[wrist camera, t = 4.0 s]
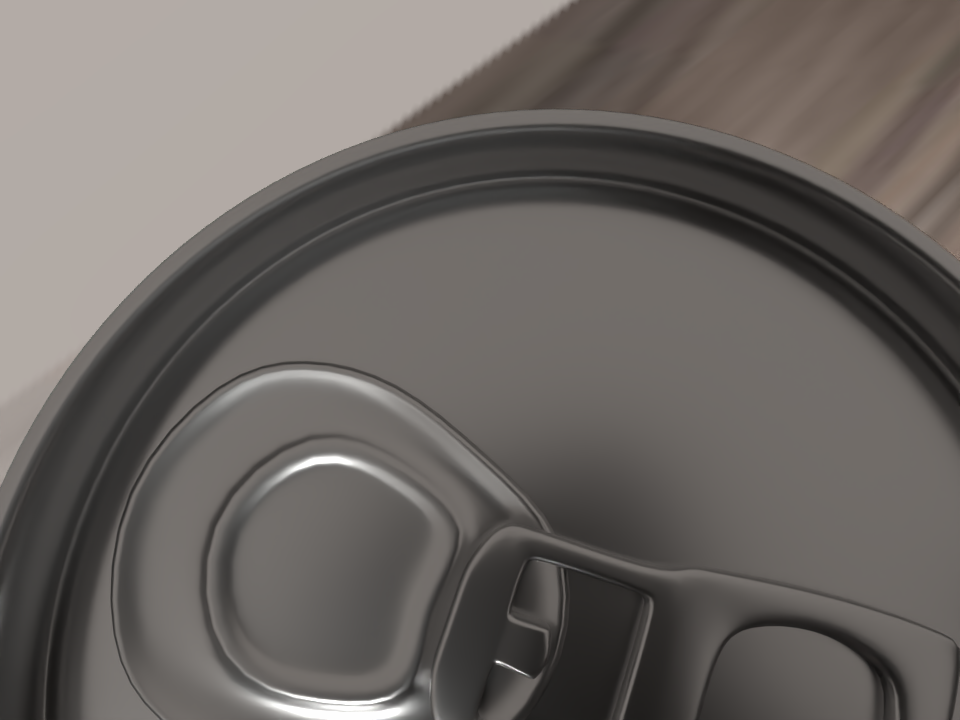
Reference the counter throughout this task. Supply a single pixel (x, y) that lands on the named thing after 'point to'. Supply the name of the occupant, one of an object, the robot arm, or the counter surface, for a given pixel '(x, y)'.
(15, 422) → the counter surface
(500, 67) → the counter surface
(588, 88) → the counter surface
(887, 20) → the counter surface
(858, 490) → the can
